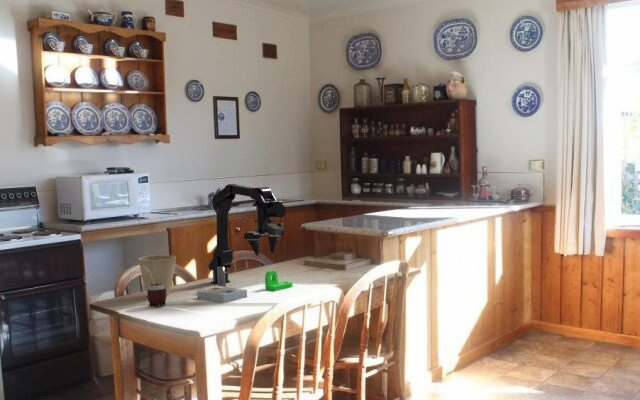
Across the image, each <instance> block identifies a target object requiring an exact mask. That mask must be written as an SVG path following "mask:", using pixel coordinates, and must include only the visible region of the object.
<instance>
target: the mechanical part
mask: <svg viewBox="0 0 640 400" xmlns="http://www.w3.org/2000/svg"><path fill="white" fill-rule="evenodd" d="M293 283H294V282H293V281H287V280H284V281H280V282H279V276H278V272H277V271H276V270H271V269H270V270H267V271H266V272H265V275H264V287H265V290H266V291H272V292H279V291H282V290H287V289H291V288H293V285H294V284H293Z"/></svg>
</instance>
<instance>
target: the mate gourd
mask: <svg viewBox="0 0 640 400" xmlns="http://www.w3.org/2000/svg"><path fill="white" fill-rule="evenodd" d="M144 268H145V269H146V270H147V271H148V272H149V275H150V277H151V280H152V283H153V284H151V285H149V287H148V290H147V289H146V291H147V292H146V293H147V300H148V307H156V308H159V307H160V306H166V305H167V303H166V299H167V296H166V289H165V286H164V285H163V284H154V281H153V278H152V275H151V272H150V271H149V270H148V269H147V268H146V267H145V266H144Z"/></svg>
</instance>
